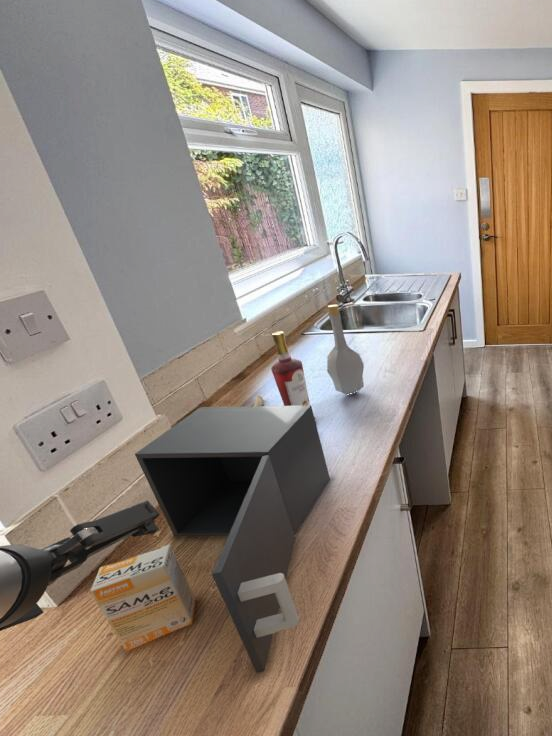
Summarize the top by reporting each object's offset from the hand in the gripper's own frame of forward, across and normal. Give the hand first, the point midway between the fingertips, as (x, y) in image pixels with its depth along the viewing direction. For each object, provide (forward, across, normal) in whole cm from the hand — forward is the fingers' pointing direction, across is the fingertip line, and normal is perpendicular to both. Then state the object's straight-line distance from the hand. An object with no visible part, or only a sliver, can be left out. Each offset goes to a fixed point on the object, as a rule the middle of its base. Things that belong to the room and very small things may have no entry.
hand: (95, 562), depth 55 cm
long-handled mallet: (+56, +22, +17) cm, 63 cm away
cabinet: (+28, +15, -5) cm, 31 cm away
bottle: (+60, +48, +9) cm, 78 cm away
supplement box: (+11, -2, -12) cm, 17 cm away
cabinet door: (+7, +13, -22) cm, 27 cm away
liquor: (+51, +32, +8) cm, 61 cm away
